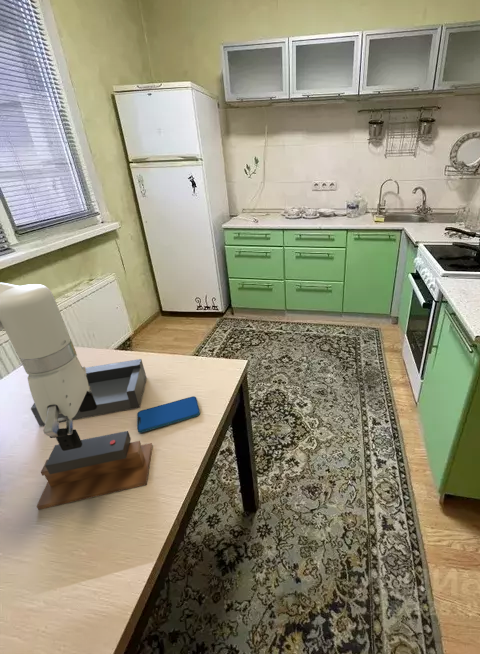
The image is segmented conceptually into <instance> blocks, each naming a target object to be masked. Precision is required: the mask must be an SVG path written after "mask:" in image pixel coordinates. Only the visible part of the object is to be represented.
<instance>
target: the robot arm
mask: <svg viewBox="0 0 480 654" xmlns="http://www.w3.org/2000/svg"><path fill="white" fill-rule="evenodd" d="M3 330H4V332H5V333H6V335H7V337H8V339H9V341H10V343H11V345H12V347H13V350H14V351H15V354H16V355H17V357H18V359H19V361H20V363H21V366H22V367H23V369H24V371H25V373H26V374H27V375H28V376H27V383H28V387H29V391H30V394H31V397H32V400H33V404H34V403H35V405H36V408H37V410H38V413H39V415H40V417H41V419H42V421H43V422H44V423H45V425H43V426H44V427H43V434H44V435H46V436H48V437H49V439H56V441H57V443H58V444H59V445H60V447H61V449H62V450H63V451H66V450H71V449H76V448H80V447H81V446H82V442H81V440H82V439H81V437H80V435H79V433H78V431H77V429H75V428H74V420H73V417H74V416H75V415H76V414H77V412H78V410H79V411H80V412H85V411H91V410H95V409H96V408H97V404H96V402H95V400H94V397H93V395H92V393H90V392H91V387H90V386H88V381H89V378H88V377H86V376H87V374H86V367H85V366H83V365H82V364H81V361H80V360H79V358H78V353H77V351H76V348H75V346H74V343H73V341H72V339H71V336H70V334H69V331H68V329H67V326H66V323H65V321H64V319H63V316H62V313H61V311H60V309H59V306H58V304H57V301H56V299H55V297H54V294H53V292H52V290H51V289H50V288H49V287H48V286H46V285H43V284H39V283H33V284H31V283H30V284H23V285H17V284H11V283H6V282H0V331H3ZM61 413H62V414H63V415H64V416H66V417H61V418H58V415H59V414H61ZM64 420H66V421H65V425H66V426H65V427H63V428H60V422H59V421H64Z"/></svg>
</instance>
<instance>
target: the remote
mask: <svg viewBox="0 0 480 654" xmlns="http://www.w3.org/2000/svg"><path fill="white" fill-rule="evenodd" d="M80 440H81V442H82V446H81V447H80V448H76V449H71V450H66V451H63V450H62V449H61V447H60V445H59V443H58V444H55V445H54V446H53V448H52V451H51V452H50V455H49V457H48V459H47V460H48V461H47V463H46V465H45V467H46V468H47V470H48V472H49V474H54V473H59V472H63V471H68V470H73V469H78V468H82V467H87V466H92V465H96V464H101V463H106V462H110V461H115V460H120V459H125V458H126V457H127V453H128V449H129V444H130V443H131V440H132V438H131V436H130V433H129V430H125V431H124V430H123V431H119V432H115V433H110V434H105V435H104V434H103V435H101V436H95V437H89V438H85V439H84V438H83V439H80Z"/></svg>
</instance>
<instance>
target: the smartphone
mask: <svg viewBox="0 0 480 654" xmlns="http://www.w3.org/2000/svg"><path fill="white" fill-rule="evenodd" d="M199 415H201V410H200V406H199V404H198V398H197V397H196V396H195V395H193V396H189V397H185V398H181V399H178V400H175V401H170V402H167V403H162V404H160V405H156V406H153V407H149V408H145V409H141V410H139V411H138V412H136V427H137V432H138V433H140V434H141V433H144V432H148V431H152V430H155V429H158V428H162V427H166V426H169V425H172V424H175V423H178V422H182V421H186V420H189V419H192V418H196V417H198V416H199Z"/></svg>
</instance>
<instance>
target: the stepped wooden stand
mask: <svg viewBox="0 0 480 654" xmlns="http://www.w3.org/2000/svg"><path fill="white" fill-rule="evenodd" d="M152 453H153V443H152V442H149V443H145V444H142V443H141V440H136V441H130V444H129V449H128V453H127V457H126V458H125V459H120V460H115V461H110V462H106V463H101V464H96V465H92V466H87V467H82V468H78V469H73V470H68V471H63V472H59V473H54V474H49V472H48V470H47V468H46V467H45V465H46V463H47V461H48V459H46V460H45V461H44V463H43V466H42V468H41V471H40V474H41V476H44V477H45V480H46V481H47V482H46V484H45V487H44V489H43V491H42V493H41V496H40V498H39V500H38V502H37V505H36V508H37V510H38V511H39V510H43V509H48V508H52V507H56V506H60V505H65V504H69V503H75V502H78V501H82V500H86V499H90V498H95V497H100V496H104V495H109V494H113V493H117V492H122V491H126V490H130V489H133V488H139V487H142V486H147V485H148V479H149V472H150V465H151V460H152Z"/></svg>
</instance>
